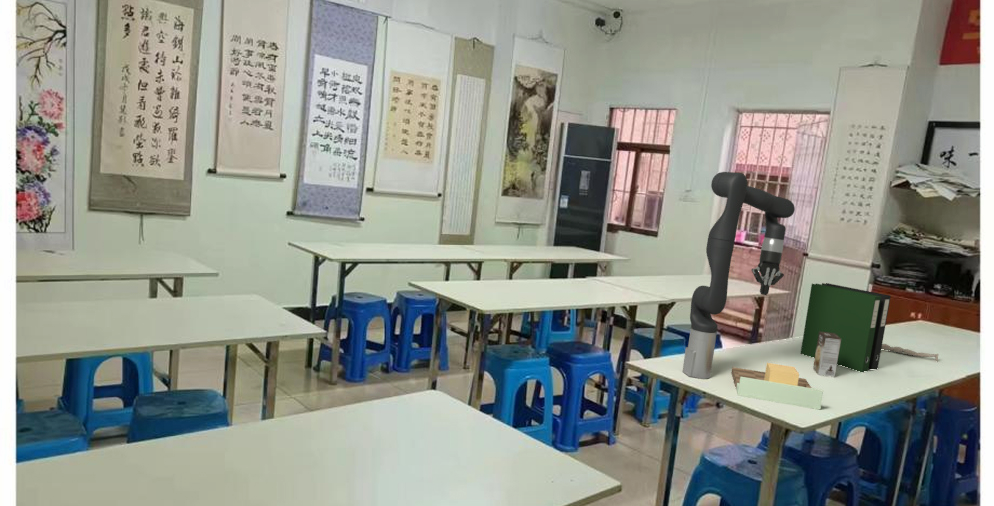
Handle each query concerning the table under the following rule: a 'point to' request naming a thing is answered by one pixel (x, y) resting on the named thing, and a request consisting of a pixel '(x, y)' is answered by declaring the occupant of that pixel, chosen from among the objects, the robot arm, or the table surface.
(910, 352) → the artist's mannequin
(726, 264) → the robot arm
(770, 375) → the ochre block
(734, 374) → the board
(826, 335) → the coffee box
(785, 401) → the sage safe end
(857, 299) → the binder
